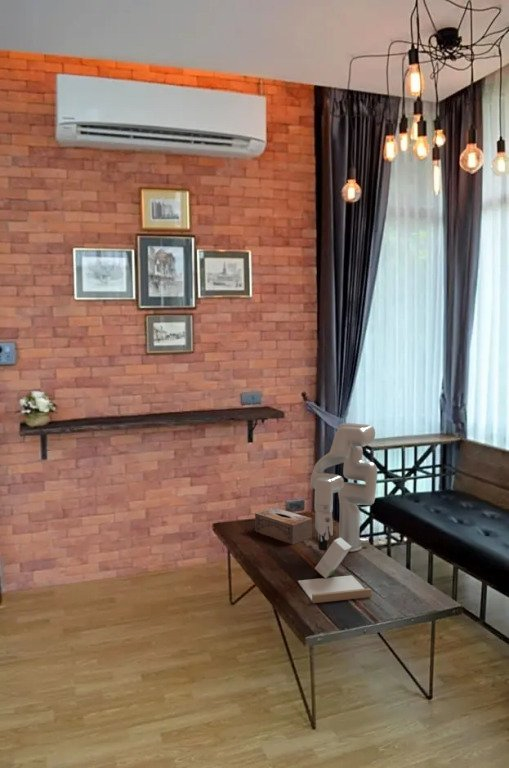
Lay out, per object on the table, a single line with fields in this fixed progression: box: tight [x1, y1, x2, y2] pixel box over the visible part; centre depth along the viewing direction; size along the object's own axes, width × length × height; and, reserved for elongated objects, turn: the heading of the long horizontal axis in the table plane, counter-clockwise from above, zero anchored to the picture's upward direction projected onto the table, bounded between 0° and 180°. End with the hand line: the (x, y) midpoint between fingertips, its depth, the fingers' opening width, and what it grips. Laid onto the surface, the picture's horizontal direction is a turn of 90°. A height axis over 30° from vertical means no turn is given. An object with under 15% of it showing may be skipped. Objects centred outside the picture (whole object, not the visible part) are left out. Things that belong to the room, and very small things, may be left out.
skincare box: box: [314, 537, 351, 578], centre depth 254 cm, size 8×7×16 cm
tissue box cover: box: [254, 506, 313, 545], centre depth 306 cm, size 26×14×10 cm, turn 46°
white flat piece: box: [297, 575, 372, 604], centre depth 243 cm, size 24×19×3 cm
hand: (322, 549), depth 254 cm, fingers closed
